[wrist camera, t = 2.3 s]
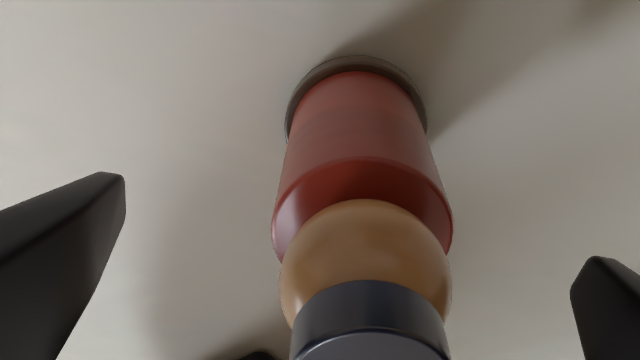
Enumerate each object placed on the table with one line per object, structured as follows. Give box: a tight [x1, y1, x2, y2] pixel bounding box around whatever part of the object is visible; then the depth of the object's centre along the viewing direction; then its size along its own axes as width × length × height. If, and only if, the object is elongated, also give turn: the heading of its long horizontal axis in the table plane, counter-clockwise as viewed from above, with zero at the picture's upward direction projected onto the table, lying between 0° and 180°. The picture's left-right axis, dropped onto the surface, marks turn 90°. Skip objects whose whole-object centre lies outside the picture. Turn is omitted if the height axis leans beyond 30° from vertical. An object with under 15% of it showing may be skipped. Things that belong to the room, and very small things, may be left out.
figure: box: [271, 56, 453, 360], centre depth 10 cm, size 4×4×8 cm
